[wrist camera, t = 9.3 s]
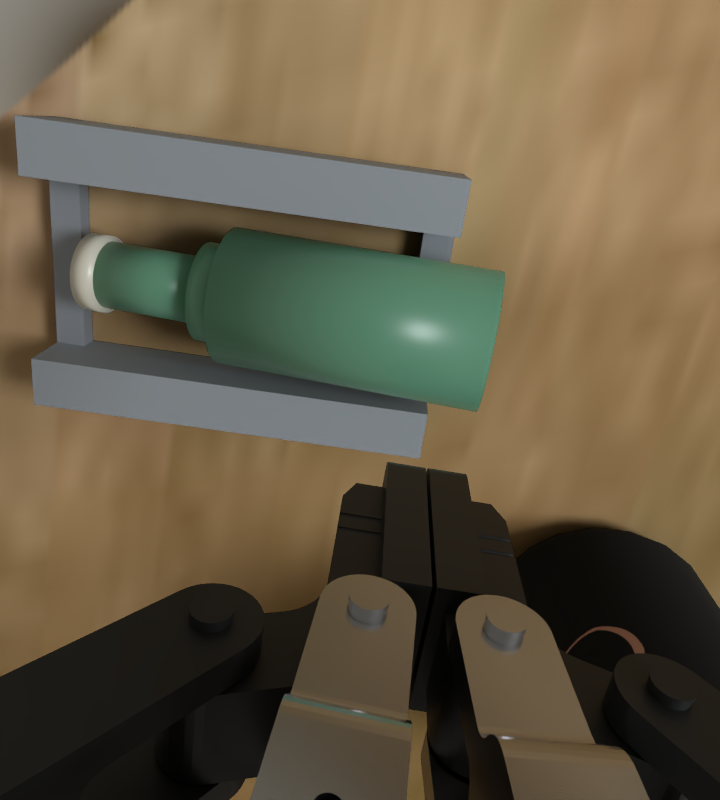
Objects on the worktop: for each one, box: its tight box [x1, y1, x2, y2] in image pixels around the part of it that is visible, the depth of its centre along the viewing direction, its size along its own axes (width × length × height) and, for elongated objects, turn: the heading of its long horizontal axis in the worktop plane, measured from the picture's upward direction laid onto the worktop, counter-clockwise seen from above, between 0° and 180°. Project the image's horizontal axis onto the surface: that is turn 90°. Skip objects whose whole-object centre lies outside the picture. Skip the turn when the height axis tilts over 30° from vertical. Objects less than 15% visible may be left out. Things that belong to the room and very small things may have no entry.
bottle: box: [70, 227, 505, 412], centre depth 25 cm, size 5×5×16 cm
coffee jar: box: [516, 528, 720, 691], centre depth 25 cm, size 11×11×18 cm
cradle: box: [14, 115, 471, 459], centre depth 26 cm, size 16×11×3 cm
